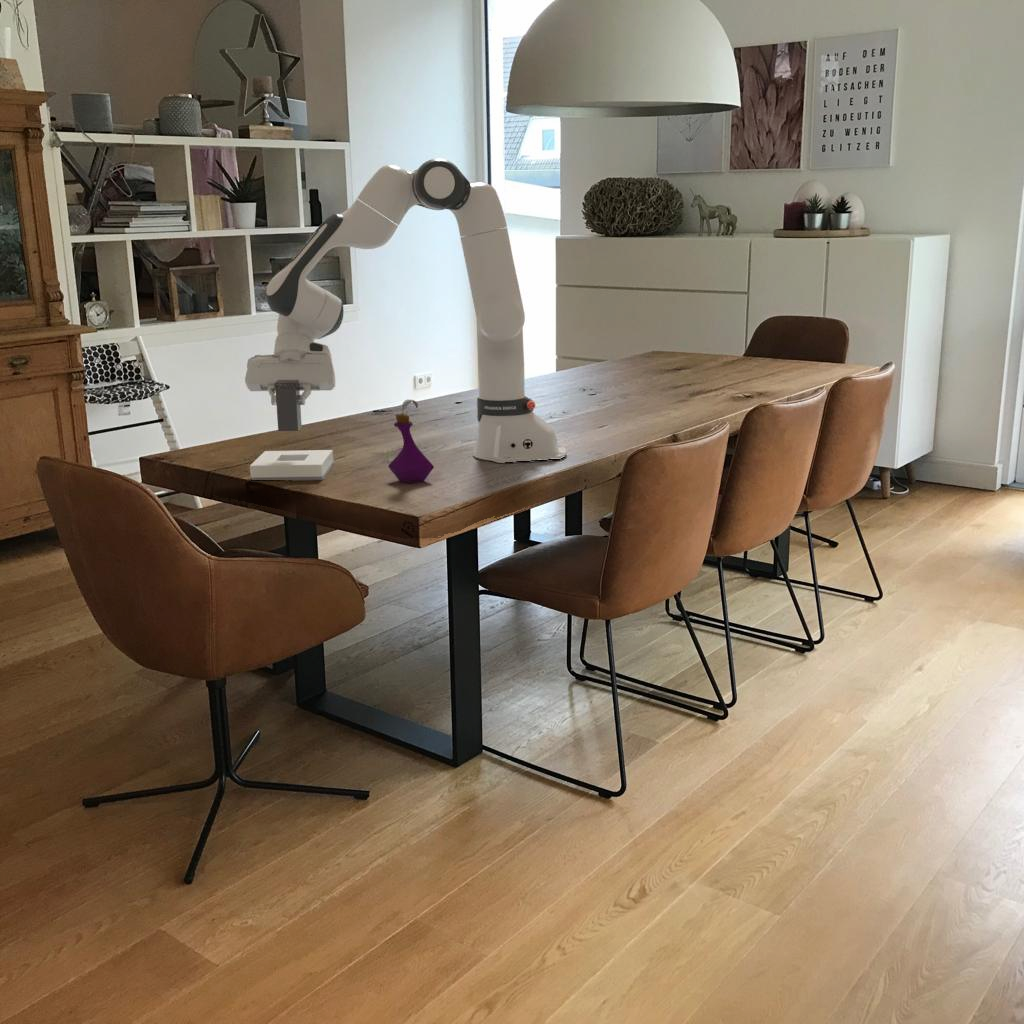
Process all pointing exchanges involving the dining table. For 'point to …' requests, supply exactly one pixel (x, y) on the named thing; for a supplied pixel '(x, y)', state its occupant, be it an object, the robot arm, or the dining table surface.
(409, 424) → the perfume bottle
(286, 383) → the plug
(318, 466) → the socket block
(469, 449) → the dining table surface
